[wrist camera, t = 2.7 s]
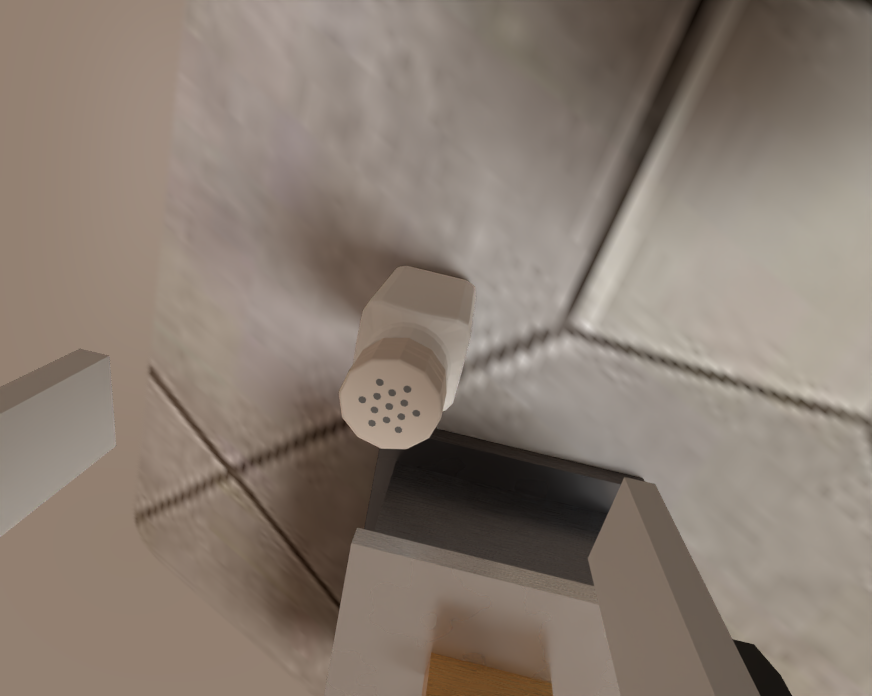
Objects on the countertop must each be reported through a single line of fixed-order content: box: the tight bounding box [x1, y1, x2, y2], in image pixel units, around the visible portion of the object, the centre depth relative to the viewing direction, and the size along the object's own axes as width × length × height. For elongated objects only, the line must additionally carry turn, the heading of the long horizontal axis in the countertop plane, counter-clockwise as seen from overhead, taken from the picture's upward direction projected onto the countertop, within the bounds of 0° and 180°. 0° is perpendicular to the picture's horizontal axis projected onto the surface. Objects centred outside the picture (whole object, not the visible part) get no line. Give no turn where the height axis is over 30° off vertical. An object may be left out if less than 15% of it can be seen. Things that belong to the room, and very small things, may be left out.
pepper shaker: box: [339, 266, 476, 449], centre depth 19 cm, size 4×4×10 cm
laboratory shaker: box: [324, 429, 645, 696], centre depth 24 cm, size 19×14×11 cm
